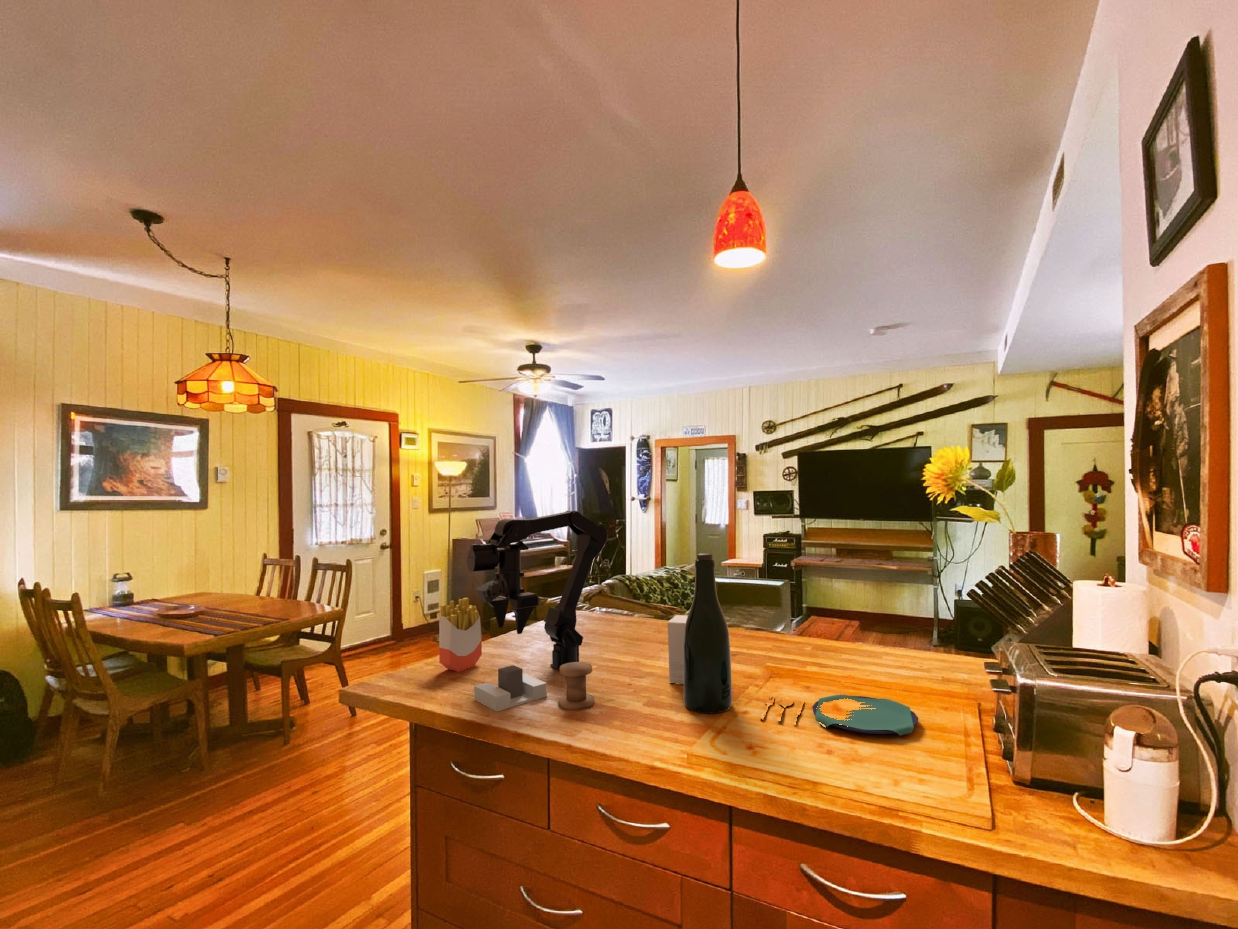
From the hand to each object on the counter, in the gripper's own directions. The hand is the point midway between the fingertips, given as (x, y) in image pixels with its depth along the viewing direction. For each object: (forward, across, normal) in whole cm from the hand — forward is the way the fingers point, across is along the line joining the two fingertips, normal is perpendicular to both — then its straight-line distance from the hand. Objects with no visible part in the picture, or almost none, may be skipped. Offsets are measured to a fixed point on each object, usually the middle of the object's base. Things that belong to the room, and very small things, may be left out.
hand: (509, 630), depth 147 cm
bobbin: (+12, +25, +2) cm, 28 cm away
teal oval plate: (+13, +68, +37) cm, 78 cm away
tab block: (+11, +12, -7) cm, 18 cm away
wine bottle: (+12, +46, +22) cm, 52 cm away
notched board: (+12, +12, -7) cm, 18 cm away
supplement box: (+12, +32, +32) cm, 47 cm away
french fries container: (+12, -17, -5) cm, 22 cm away
